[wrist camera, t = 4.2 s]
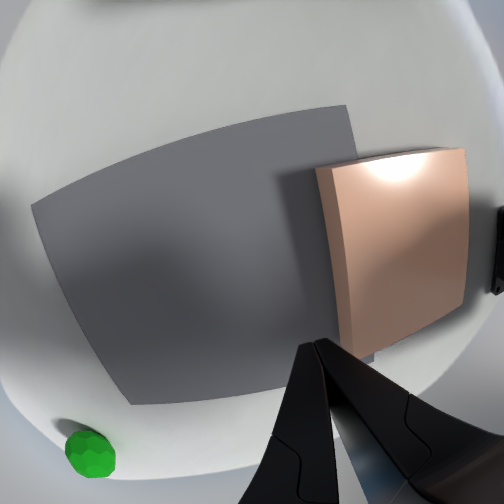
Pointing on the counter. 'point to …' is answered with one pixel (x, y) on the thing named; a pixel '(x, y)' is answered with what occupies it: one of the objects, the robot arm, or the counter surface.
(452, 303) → the tile
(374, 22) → the counter surface
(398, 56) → the counter surface
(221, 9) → the counter surface
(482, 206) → the counter surface
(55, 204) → the mat
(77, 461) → the polyhedron
